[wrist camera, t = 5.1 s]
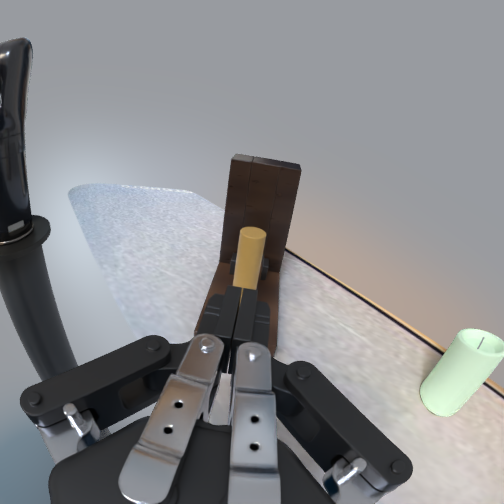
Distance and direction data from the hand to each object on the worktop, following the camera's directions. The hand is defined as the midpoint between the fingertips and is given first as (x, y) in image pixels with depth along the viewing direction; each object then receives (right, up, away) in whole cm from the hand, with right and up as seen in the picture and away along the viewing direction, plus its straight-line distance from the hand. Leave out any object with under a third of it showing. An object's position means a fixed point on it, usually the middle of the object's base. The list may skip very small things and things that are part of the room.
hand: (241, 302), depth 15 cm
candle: (+18, -11, +7) cm, 22 cm away
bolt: (0, -2, +14) cm, 14 cm away
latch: (0, -2, +17) cm, 17 cm away
